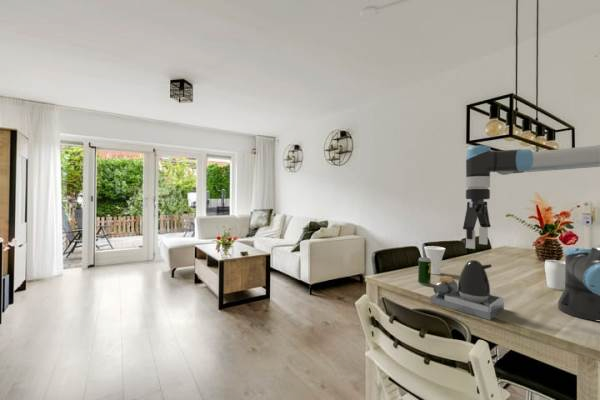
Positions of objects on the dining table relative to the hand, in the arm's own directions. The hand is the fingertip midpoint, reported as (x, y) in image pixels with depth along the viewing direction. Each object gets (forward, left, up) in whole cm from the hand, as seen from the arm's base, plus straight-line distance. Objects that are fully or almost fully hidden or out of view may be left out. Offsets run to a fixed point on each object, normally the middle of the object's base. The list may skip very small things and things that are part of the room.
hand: (477, 246), depth 106 cm
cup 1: (+32, -36, -23) cm, 53 cm away
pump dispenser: (0, +1, -21) cm, 21 cm away
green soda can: (+26, -13, -23) cm, 37 cm away
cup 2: (-15, -55, -23) cm, 61 cm away
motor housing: (+3, +1, -23) cm, 23 cm away
